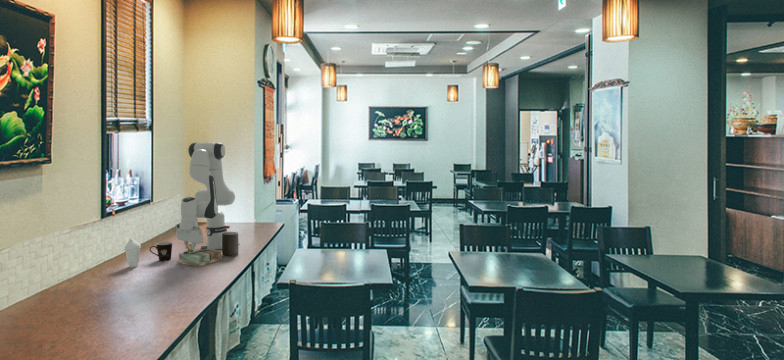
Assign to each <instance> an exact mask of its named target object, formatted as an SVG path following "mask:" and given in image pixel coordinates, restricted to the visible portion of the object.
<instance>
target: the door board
mask: <svg viewBox="0 0 784 360" xmlns="http://www.w3.org/2000/svg"><path fill="white" fill-rule="evenodd" d="M187 251H188V250H187ZM187 251H186V250H185V251H183V252H179V253H178V261H179V263H180V264H183V263H184V265H187V264H188V265H187V266H191V265H192V267H195V266H196V268H198V267H202V266H205V265H209V264H212V262H213V263H216V262H219V261H222V250H220V249H209V248H208V250H204V251H200V252H195V253H191V254H188V253H187Z"/></svg>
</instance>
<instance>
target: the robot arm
mask: <svg viewBox="0 0 784 360" xmlns="http://www.w3.org/2000/svg"><path fill="white" fill-rule="evenodd" d="M188 154H189V157H190V163H189V176H190V178H192V179H193V180H194V181H195V182H198V183H200V184H202V185H205V187H206V188H202V189H199V190H197V191H196V192H195V194H194V197H192V196H191V197H190V196H188V197H184V198H183V199H181V203H180V215H181V219H180V223H177V224H175V228H176V231H175V234H176V238H177V240H178V241H182V242H183V244H184V246H185V249H187V250H188V244H189V243H191V244H192V247H191V250H196V246H197V244H198V245H199V244H202V243H203V242H204V235H203V234H204V233H203V231H202V229H201V227H199V224H198V219H199V218H201V219H206V227H205V230H206V231H205V232H206V241H205V245H204V246H207V248H209V249H214V250H222V233H225V232H230V230H229V229H231V226H230V225H226V222H225V221H226V220H225V213H224V212H223V211H221V210H219V207H218V206H224V207H225V206H230V205H233V203H234V202H235V200H236V194H235V192H234V191H233V190H232V189H231V188H229V187H228V185H227V184H226V182H225V180H224V173H223V162H222V159H223V158H224V156H225V155H226V147H225V145H224V144H223V143H221V142H217V141H216V142H213V141H203V142H202V141H201V142H192V143H190V145H189V146H188ZM239 245H240V242H239V241H238V246H239Z"/></svg>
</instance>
